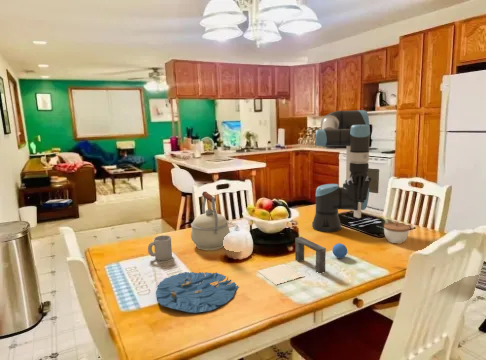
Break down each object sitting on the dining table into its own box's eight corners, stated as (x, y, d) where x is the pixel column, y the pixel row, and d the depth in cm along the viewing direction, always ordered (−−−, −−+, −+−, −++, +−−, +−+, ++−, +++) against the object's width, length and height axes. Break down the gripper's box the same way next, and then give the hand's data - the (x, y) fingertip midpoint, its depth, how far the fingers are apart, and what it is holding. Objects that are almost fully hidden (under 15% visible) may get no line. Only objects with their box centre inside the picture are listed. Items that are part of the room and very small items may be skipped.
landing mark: (257, 271, 133) (257, 270, 133) (284, 264, 139) (284, 263, 139) (275, 285, 122) (275, 284, 122) (304, 276, 128) (304, 276, 128)
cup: (173, 259, 147) (172, 239, 146) (149, 263, 144) (148, 243, 142) (170, 253, 154) (169, 234, 152) (147, 257, 150) (146, 237, 149)
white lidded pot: (412, 245, 155) (413, 225, 153) (388, 246, 155) (389, 226, 153) (402, 237, 165) (403, 218, 164) (379, 238, 166) (380, 219, 164)
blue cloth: (196, 269, 141) (196, 257, 140) (254, 290, 122) (253, 276, 121) (133, 296, 118) (132, 282, 117) (192, 326, 99) (191, 309, 98)
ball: (329, 256, 145) (329, 243, 144) (339, 253, 148) (340, 240, 147) (339, 261, 140) (339, 247, 139) (350, 258, 143) (350, 244, 142)
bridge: (319, 273, 130) (319, 249, 128) (295, 260, 143) (295, 238, 141) (325, 272, 131) (325, 248, 129) (301, 258, 144) (301, 236, 142)
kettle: (237, 249, 156) (235, 196, 151) (197, 256, 149) (194, 201, 145) (220, 233, 178) (218, 186, 174) (185, 238, 172) (182, 190, 167)
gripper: (354, 164, 135) (352, 221, 139) (377, 161, 141) (375, 216, 145) (340, 162, 142) (339, 217, 146) (363, 160, 148) (361, 212, 152)
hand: (357, 217), depth 145 cm, fingers closed
